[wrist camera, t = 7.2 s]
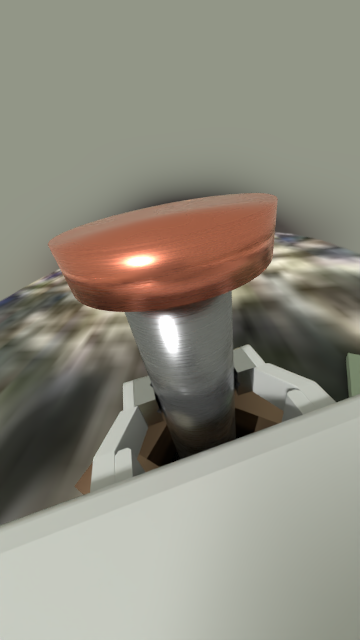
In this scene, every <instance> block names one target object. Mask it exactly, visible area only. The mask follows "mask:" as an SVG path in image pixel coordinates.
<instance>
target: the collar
mask: <svg viewBox="0 0 360 640" xmlns="http://www.w3.org/2000/svg"><path fill="white" fill-rule="evenodd" d="M234 393H235V425H236V435H237V436H239V437H243V436H246V435H249V434H251V433H254V432H257V431H260V430H262V429H265V428H268V427H271V426H273V425H276V424H279V423H281V422H282V417H283V412H284V411H282V410H281V409H279V408H278V407H276V406H275V405H273V404H271V403H270V402H268V401H267V400H265V399H264V398H262V397H260V396H259V395H257V394H256V393H254V392H253V391H251V392H248V393H245V394H241V395H237V393H236V391H235V390H234ZM162 414H163V413H162ZM163 420H164V421H162V422H159V423H157V424H154V425H151V426H148V430H147V432H146V435H145V438H144V441H143V443H142V446H141V449H140V452H139V455H138V457H137V460H138V462H139V463H140V465H141V466H142V468H143V469H144V471H145V472H148V471H150V470H153V469H156V468H159V467H161V466H164V465H167V464H170V462H171V460H172V458H173V456H174V454H175V452H176V451H177V450H176V447H175V444H174V442H173V439H172V436H171V434H170V431H169V429H168V426H167V423H166V421H165V418H164V415H163ZM92 466H93V462H92V464H91V465H90V466H89V468H88V469H87V470H86V472H85V473H84V474H83V476H82V477H81V478H80V480H79V481H78V482H77V484H76V485H75V487H76V488H77V489H78V490H79V491H80V492H81V493H82V494H83V495H85V494H88V493H90V487H91V477H92Z"/></svg>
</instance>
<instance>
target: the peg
mask: <svg viewBox="0 0 360 640" xmlns="http://www.w3.org/2000/svg"><path fill="white" fill-rule="evenodd" d="M276 210H277V197H276V196H274V195H271V194H263V193H248V194H247V193H244V194H231V195H220V196H212V197H204V198H197V199H191V200H185V201H179V202H174V203H168V204H163V205H159V206H153V207H149V208H144V209H139V210H135V211H131V212H127V213H123V214H119V215H115V216H111V217H108V218H104V219H101V220H97V221H94V222H91V223H88V224H85V225H82V226H79V227H76V228H74V229H71V230H69V231H66V232H64V233H62V234H60V235H58V236H56V237H54V238H53V239H51V240H50V241H49V243H48V246H49V248H50V250H51V252H52V254H53V256H54V258H55V260H56V261H57V263H58V265H59V267H60V269H61V271H62V273H63V275H64V277H65V279H66V281H67V283H68V285H69V287H70V289H71V291H72V293H73V295H74V296H75V298H76V299H77V300H78V301H79V302H81V303H82V304H84V305H86V306H89V307H92V308H96V309H99V310H106V311H116V312H125V314H126V317H127V320H128V322H129V325H130V328H131V330H132V333H133V336H134V338H135V341H136V344H137V346H138V349H139V351H140V354H141V357H142V359H143V362H144V365H145V367H146V370H147V373H148V375H149V378H150V381H151V383H152V386H153V389H154V391H155V394H156V396H157V399H158V402H159V404H160V407H161V410H162V413H163V415H164V418H165V421H166V423H167V426H168V429H169V431H170V434H171V436H172V439H173V442H174V444H175V447H176V450H177V452H178V455H179V458H180V459H183V458H186V457H189V456H191V455H194V454H197V453H199V452H202V451H205V450H208V449H210V448H213V447H216V446H219V445H221V444H224V443H227V442H230V441H232V440H235V439H236V425H235V393H234V360H233V327H232V295H231V291H232V290H234V289H236V288H238V287H240V286H242V285H244V284H246V283H248V282H250V281H251V280H253V279H254V278H256V277H257V276H259V275H260V274H261V273H262V272H263V271H264V270H265V269H266V268H267V267H268V266H269V264H270V263H271V260H272V257H273V246H274V235H275V222H276Z"/></svg>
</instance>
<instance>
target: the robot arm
mask: <svg viewBox="0 0 360 640" xmlns="http://www.w3.org/2000/svg"><path fill="white" fill-rule="evenodd" d="M233 360H234V390H235V391H236V393H237V395H241V394H245V393H248V392H251V391H253V392H254V393H256V394H257V395H259V396H260V397H262V398H264V399H265V400H267V401H268V402H270V403H271V404H273V405H275V406H276V407H278V408H279V409H281V410H282V411H284V412H283V417H282V422H281V423H279V424H276V425H273V426H271V427H268V428H265V429H262V430H260V431H257V432H254V433H251V434H249V435H246V436H243V437H240V438H238V439H235V440H232V441H230V442H227V443H224V444H221V445H219V446H216V447H213V448H210V449H208V450H205V451H202V452H199V453H197V454H194V455H191V456H189V457H186V458H183V459H180V460H178V461H175V462H172V463H170V464H167V465H164V466H161V467H159V468H156V469H153V470H150V471H148V472H145V471H144V469H143V468H142V466H141V465H140V463H139V462H138V460H137V457H138V455H139V452H140V449H141V446H142V443H143V441H144V438H145V435H146V432H147V430H148V426H151V425H154V424H157V423H159V422H162V421H164V420H163V414H162V410H161V407H160V404H159V402H158V399H157V396H156V394H155V391H154V389H153V386H152V383H151V381H150V378H149V376H146V377H143V378H139V379H136V380H133V381H129V382H126V383H124V384H123V411H121V412H120V413H119V415H118V417H117V419H116V420H115V422H114V424H113V425H112V427H111V429H110V431H109V432H108V434H107V436H106V438H105V439H104V441H103V443H102V444H101V446H100V448H99V450H98V451H97V453H96V455H95V456H94V458H93V466H92V477H91V487H90V493H88V494H85V495H82V496H79V497H77V498H74V499H71V500H68V501H66V502H63V503H60V504H58V505H55V506H52V507H49V508H47V509H44V510H41V511H38V512H36V513H33V514H30V515H27V516H25V517H22V518H19V519H17V520H14V521H11V522H8V523H6V524H3V525H0V640H360V394H358V395H355V396H352V397H350V398H347V399H344V400H342V401H339V402H335V401H334V400H333V399H332V398H331V397H330V396H329V395H328V394H327V393H326V392H325V391H324V390H323V389H322V388H321V387H320V386H319V385H318V384H317V383H316V382H314V381H312V380H309V379H307V378H304V377H302V376H300V375H297V374H295V373H292V372H290V371H287V370H285V369H282V368H280V367H277V366H275V365H272V364H270V363H267V364H266V363H265V362H264V361H263V360H262V358H261V357H260V356H259V355H258V354H257V353H256V352H255V350H254V349H253V348H252V347H251V346H250V345H245V346H242V347H238V348H235V349H233Z"/></svg>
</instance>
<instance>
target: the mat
mask: <svg viewBox="0 0 360 640" xmlns="http://www.w3.org/2000/svg"><path fill="white" fill-rule="evenodd" d="M346 366H347V379H348V393H349V398H350V397H352V396H355V395H358V394H360V355H356V354H351V353H348V355H347V357H346Z"/></svg>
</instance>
